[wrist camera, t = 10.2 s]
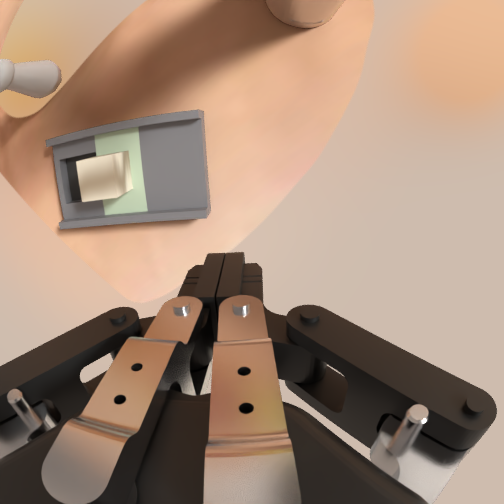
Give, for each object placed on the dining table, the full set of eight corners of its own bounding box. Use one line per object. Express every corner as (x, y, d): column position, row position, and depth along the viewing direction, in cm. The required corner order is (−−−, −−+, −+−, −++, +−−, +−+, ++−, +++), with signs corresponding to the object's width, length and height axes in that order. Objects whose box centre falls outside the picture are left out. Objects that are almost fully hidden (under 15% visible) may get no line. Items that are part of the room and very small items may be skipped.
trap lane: (59, 137, 35) (45, 140, 32) (203, 111, 34) (198, 109, 31) (72, 221, 40) (60, 229, 37) (210, 210, 40) (206, 218, 36)
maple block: (95, 156, 35) (76, 161, 30) (128, 150, 34) (111, 154, 30) (100, 192, 37) (82, 202, 32) (133, 188, 36) (117, 197, 32)
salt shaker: (46, 106, 33) (-14, 109, 21) (33, 81, 31) (-25, 79, 19) (72, 79, 32) (13, 72, 20) (57, 54, 30) (0, 43, 18)
